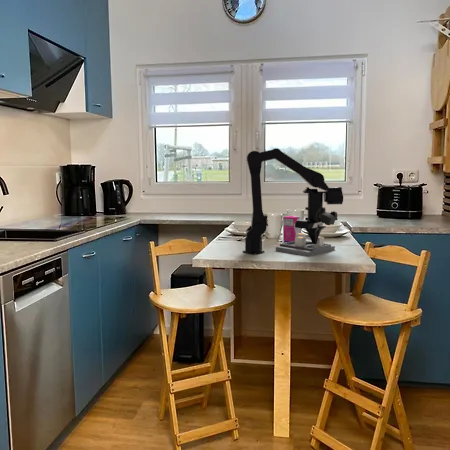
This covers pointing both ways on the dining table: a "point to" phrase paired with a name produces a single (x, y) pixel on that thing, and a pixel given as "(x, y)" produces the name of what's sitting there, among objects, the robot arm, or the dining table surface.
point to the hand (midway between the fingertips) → (314, 244)
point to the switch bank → (304, 248)
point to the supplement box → (290, 228)
